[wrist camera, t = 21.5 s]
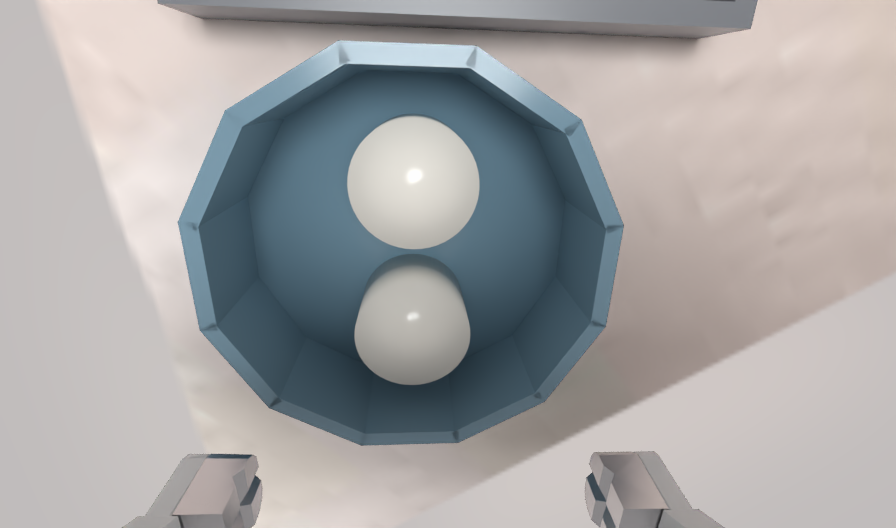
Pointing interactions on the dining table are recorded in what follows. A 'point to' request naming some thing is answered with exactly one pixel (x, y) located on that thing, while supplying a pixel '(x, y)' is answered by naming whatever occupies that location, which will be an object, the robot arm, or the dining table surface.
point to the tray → (498, 14)
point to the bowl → (359, 252)
